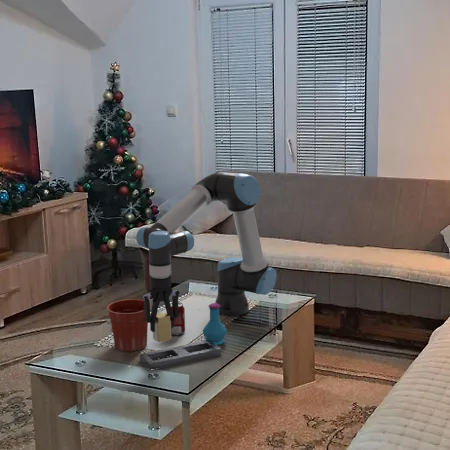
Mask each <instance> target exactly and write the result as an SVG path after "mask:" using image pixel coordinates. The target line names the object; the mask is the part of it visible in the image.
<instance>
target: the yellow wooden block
mask: <svg viewBox="0 0 450 450" xmlns="http://www.w3.org/2000/svg"><path fill="white" fill-rule="evenodd" d="M155 322H156V323H157V328H158V341H157V342H158V343H163V342H167V341H171V339H172V336H171V337H170V316H169V315H168V314H167V312H161V313H160V312H159V313H157V316H156V321H155Z"/></svg>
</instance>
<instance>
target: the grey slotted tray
mask: <svg viewBox="0 0 450 450" xmlns="http://www.w3.org/2000/svg"><path fill="white" fill-rule="evenodd" d="M170 355H173V356H171V357H167V356H170ZM219 356H222V348H221V347H220V346H218V345H215V344H214V343H213V342H211V341H210V340H206V339H205V340H202V341H201V340H200V341H197V342H192V343H189V344H183V345H182V344H181V345H179V346H173V347H168V348H163V349H158V350H153V351H149V352H145V353H144V352H143V353H140V354H139V360H140V361H139V362H140V363H142V364H143V365H144V366H145V365H146V366H147V367H148V368H149V369H150V370H151V369H155V370H157V369H156V368H160V369H163V368H164V367H165V368H168V367H169V368H170V367H173V366H178V365H182V364H186V363H191V362H195V361H197V362H198V361H200V360H205V359H209V358H213V357H214V358H215V357H219ZM163 357H166V358H163ZM158 358H161V359H158ZM154 359H157V360H154ZM146 366H145V367H146ZM147 367H146V368H147ZM148 368H147V369H148ZM165 368H164V369H165ZM149 369H148V370H149ZM150 370H149V371H150ZM151 371H152V370H151Z"/></svg>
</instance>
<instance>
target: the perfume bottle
mask: <svg viewBox="0 0 450 450" xmlns="http://www.w3.org/2000/svg"><path fill="white" fill-rule="evenodd" d="M219 307H220V305H219V304H217V303H215V302H214V303H210V304H209V305H208V310H209V321H208V322H207V324H206V325H205V326H204V328H203V329H202V335H203V336H204V338H205V341H206V340H210V341H211V342H213V343H214V344H215V345H217V346H218V345H222V344H223V343H224V340H225V337H226V335H227V332H228V331H227V328H226V326H225V325H224V324H223V323H222V322H221V320H220V314H219V309H220V308H219Z"/></svg>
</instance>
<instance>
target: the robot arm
mask: <svg viewBox="0 0 450 450" xmlns="http://www.w3.org/2000/svg"><path fill="white" fill-rule="evenodd" d="M260 193H261V187H260V184H259V181H258V180H257V178H256V177H255V176H253V175H251V174H247V173H243V172H241V173H235V172H226V171H219V172H214V173H211V174H209V175H207V176H206V177H204V178H202V179H200V180H199V181H198V182H196V183H195V184H194V185H193V186H192V187H191V191H190V192H188V194H186V195H185V196H184V197H183V198H182V199H181V200H180V201H179V202H177V203H176V204H175V205H174V206H173V207H172V208H171V209H169V210H168V211H167V212H166V213H164V214H163V215H162V217H160V218H159V219H158V220H157V221H155V222H154V223H153V224H152V225H151V226H150V227H148V226H147V227H140V228H139V229H138V231H137V232H136V237H135V240H136V242H137V243H136V244H137V245H138V246H139V247H142V248H145V249H148V259H149V260H148V261H149V263H148V264H149V265H148V266H149V267H148V268H149V276H150V277H149V291H148V292H147V293H146V294H142V295H141V297H142V300H144V313H145V321H146V322H148V324H149V327H150V328H149V329H150V332H151V333H152V339H153V340H154V341H155V342H158V328H157V323H156V322H155V321H156V316H157V314H158V309H159V305H160V303H161V302H163V303H164V304H163V305H164V308H165V311H166V312H165V313H166V314H168V315H169V316H170V337H171V338H172V334H171V329H172V328H173V321H174V320H175V319H174V318H177V317H178V302H179V296H180V293H181V292H180V291H179V290H177V289H176V288H175V289H173V288H172V276H171V275H172V263H171V262H172V259H171V257H174V256H177V255H181V254H185V253H187V252H189V251H192V249H193V248H194V246H195V238H194V235H193V234H192V233H191V232H190V231H187V230H183V231H182V230H181V231H178V230H179V229H180V228H181V227H182V226H184V224H185V223H187V221H189V220H190V219H191V218H192V217H193V216H194V215H196V213H197V212H199V211H200V210H201V209H202V208H203V207H204V206H205V207H207V206H209V205H210V204H211V203H213V202H225V203H226V206H227V209H228V211H229V212H231V213H232V216H233V220H234V226H235V229H236V230H235V231H236V234H237V239H238V243H239V245H238V246H239V248H240V253H241V257H228V258H224V259H221V260H220V261H218V263H217V270H216V272H217V295H216V299H215V302H214V303H217V304H219V305H220V307H219V308H220V309H219V315H220V314H221V316H226V317H228V316H229V317H234V316H235V317H236V316H242V315H245V314H247V313H248V312H249V311H250V305H249V301H248V299H247V296H246V294H245V293H246V292H248V293H253V294H256V295H264V296H265V295H268V294H270V293H271V292H272V290H273V289H274V287H275V284H276V282H277V272H276V269H275V268H273V267H270V266H269V261H268V259H267V258H266V257H264V253H263V250H262V244H261V243H262V242H261V239H260V235H259V230H258V228H259V227H258V224H257V219H256V214H255V209H254V208H255V207H256V205H257V202H258V201H259V199H260ZM176 231H177V232H176ZM170 297H171V301H172V302H171V301H170ZM151 298H152V304H151V303H150V300H151ZM170 303H172V310H171V306H170ZM150 304H151V307H150Z"/></svg>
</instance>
